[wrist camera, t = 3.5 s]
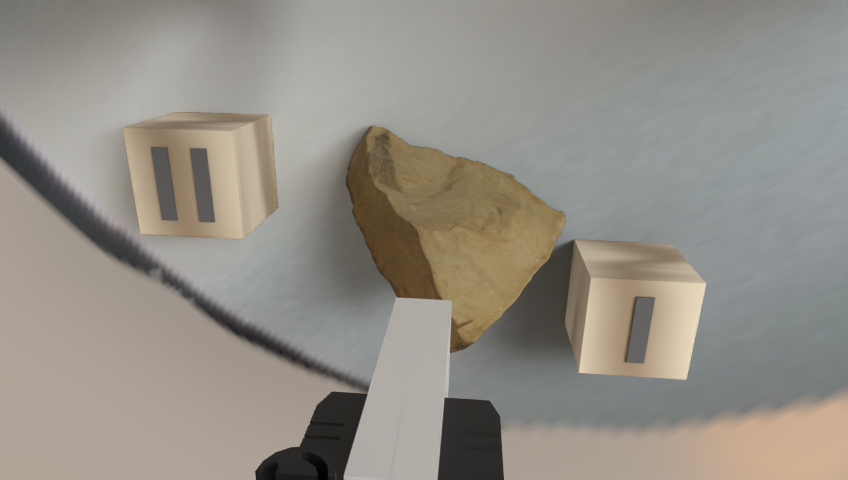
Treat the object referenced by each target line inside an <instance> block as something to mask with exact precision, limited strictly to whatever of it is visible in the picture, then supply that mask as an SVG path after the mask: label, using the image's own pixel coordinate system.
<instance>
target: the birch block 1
mask: <svg viewBox="0 0 848 480" xmlns="http://www.w3.org/2000/svg"><path fill="white" fill-rule="evenodd" d="M122 129H123V135H124V140H125V146H126V152H127V158H128V164H129V170H130V176H131V182H132V188H133V193H134V199H135V205H136V211H137V217H138V223H139V229H140V234H145V235H166V236H187V237H207V238H228V239H244V238H245V237H246V236H247V235H248V234H250V233H251V232H252V231H253V230H254V229H255V228H256V227H257V226H258V225H260V224H261V223H262V222H263V221H264V220H265V219H266V218H267V217H268V216H269V215H271V214H272V213H273V212H274V211H275V210H276V209H277V208H278V199H277V186H276V173H275V160H274V148H273V135H272V122H271V115H267V114H233V113H199V112H175V113H172V114H168V115H165V116H161V117H158V118H154V119H151V120H147V121H144V122H141V123H137V124H134V125H130V126H127V127H123V128H122Z"/></svg>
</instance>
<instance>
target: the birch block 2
mask: <svg viewBox="0 0 848 480" xmlns="http://www.w3.org/2000/svg"><path fill="white" fill-rule="evenodd" d="M705 287H706V283H705V282H704V280H703V279H702V278H701V277H700V276H699V275H698V273H697V272H696V271H695V270H694V269H693V268H692V267H691V265H690V264H689V263H688V262H687V261H686V260H685V258H684V257H683V256H682V255H681V254H680V253H679V252H678V250H677V249H676V248H675V247H674V246H673V245H672V244H664V243H642V242H620V241H598V240H576V239H574V248H573V256H572V265H571V274H570V282H569V291H568V300H567V308H566V317H565V325H566V329H567V333H568V336H569V340H570V343H571V347H572V350H573V354H574V358H575V361H576V365H577V368H578V372H579V373H591V374H606V375H622V376H637V377H653V378H668V379H684V380H686V379H687V374H688V369H689V364H690V359H691V355H692V350H693V345H694V340H695V335H696V331H697V326H698V321H699V316H700V311H701V307H702V302H703V297H704V292H705Z"/></svg>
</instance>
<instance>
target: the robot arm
mask: <svg viewBox="0 0 848 480" xmlns="http://www.w3.org/2000/svg"><path fill="white" fill-rule="evenodd" d="M451 310H452V301H451V300H432V299H414V298H396V300H395V303H394V307H393V310H392V314H391V317H390V320H389V324H388V327H387V331H386V334H385V337H384V341H383V344H382V347H381V351H380V354H379V358H378V361H377V364H376V368H375V371H374V375H373V378H372V381H371V385H370V388H369V392H368V394H361V393H345V392H331V393H330V394H329V395H328V396H327V397H326V398H324V399H323V400H322V401H321V402H320V403H319V404H318V405H317V407H316V409H315V411H314V414H313V416H312V419H311V421H310V425H309V426H308V428H307V431H306V433H305V437H304V438H303V440H302V442H301V445H300V447H291V448H288V449H285V450H282V451H279V452H276V453H274V454H273V455H272V456H270V457H268V458H267V459H265V460H264V461H263V462H262V464H261V465H260V466H259V467H258V469H257V470H256V471H255V472H256V480H504V474H503V459H502V443H501V442H502V441H501V425H500V416H499V414H498V413H497V411H496V410H495V408H494V407H493V405H492V404H491V402H490V401H488V400H473V399H458V398H448V386H449V360H450V335H451Z"/></svg>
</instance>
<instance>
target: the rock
mask: <svg viewBox="0 0 848 480" xmlns="http://www.w3.org/2000/svg"><path fill="white" fill-rule="evenodd" d="M346 185H347V188H348V190H349V193H350V197H351V201H352V204H353V211H352V212H353V215H354V218H355V220H356V223H357V225H358V226H359V227H360V230H361V232H362V233H363V235H364V238H365V243H366V245H367V247H368V248H369V249H370V251H371V254H372V258H373V260H374V262H375V264H376V266H377V268H378V270H379V271H380V273H381V274H382V275H383V277H384V278H385V279H386V280H387V281H388V282H389V283H390V284H391V286H392V288H393V290H394V292H395V294H396V296H397V297H398V298H414V299H432V300H451V301H452V310H451V335H450V353H452V352H456V351H460V350H463V349H465V348H467V347H468V346H470V345H471V344H473V343H474V342H476V341H477V340H478V339H479V338H480V337H481V336H482V334H483V333H484V332H485V331H486V330H487V329H488V328H489V327H490V326H491V325H492V324H493V323H495V322H496V321H497V320H499V319H500V318H501V317H502V315H503V313H504V311H505V310H506V309H508V308H509V307H510V306H511V305H512V304H513V303H514V302H515V301H516V299H517V298H518V297H519V295H520V294H521V292H522V291H523V289H524V287H525V286H526V285H527V283H529V282H530V281H531V279H532V277H533V275H534V274H535V273H536V272H537V271H538V270H539V268H540V267H541V266H542V265H543V264H545V263H546V262H547V261H548V259H549V257H550V255H551V253H552V251H553V249H554V245H555V241H556V239H557V237H558V236H559V235H561V233H562V230H561V229H562V227H563V226H564V225H565V223H566V222H565V215H564V213H562V212H561V211H556V210H553V209H551V208H549V207H548V206H547V205H546V204H545V203H544V202H542V201H541V200H540V199H539V198H537V197H536V196H534V195H533V194H532V193H531V192H530V191H529V190H528V189H527V188H526V187H525V186H524V185H522V184H520V183H519V182H517V181H516V180H515V179H514V176H513V175H510V174H506V173H503V172H500V171H497V170H495V169H493V168H491V167H489V166H487V165H486V164H483V163H481V162H473V161H470V160H468V159H466V158H461V157H459V158H454V157H452V156H449V155H445V154H443V153H442V152H440V151H439V150H434V149H430V148H424V147H415V146H410V145H408V144H407V143H405V142H404V141H403V140H402V139H400V138H398V137H397V136H395V135H394V134H392V133H391V132H390V131H388V130H386V129H385V128H379V127H376V126H370V128H369V129H368V131H367V132H366V134H365V136H364V137H363V139H362V141H361V142H360V144H359V145H358V146H357V148H356V150H355V152H354V154H353V156H352V158H351V161H350V163H349V166H348V174H347V177H346Z"/></svg>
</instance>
